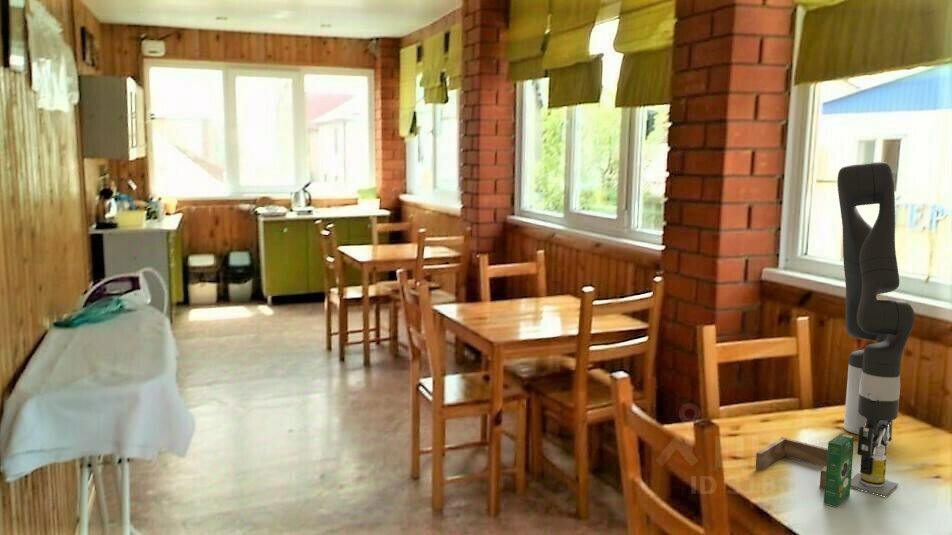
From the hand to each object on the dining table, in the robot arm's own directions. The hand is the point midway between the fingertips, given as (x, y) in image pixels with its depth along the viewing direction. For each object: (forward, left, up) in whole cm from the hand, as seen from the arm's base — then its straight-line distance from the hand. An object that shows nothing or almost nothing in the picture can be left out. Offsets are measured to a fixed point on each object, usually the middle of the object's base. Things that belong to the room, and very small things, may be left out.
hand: (873, 467), depth 165 cm
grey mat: (0, 0, -4) cm, 4 cm away
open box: (+2, -14, -4) cm, 15 cm away
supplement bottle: (0, 0, -4) cm, 4 cm away
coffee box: (+12, -3, -4) cm, 13 cm away
